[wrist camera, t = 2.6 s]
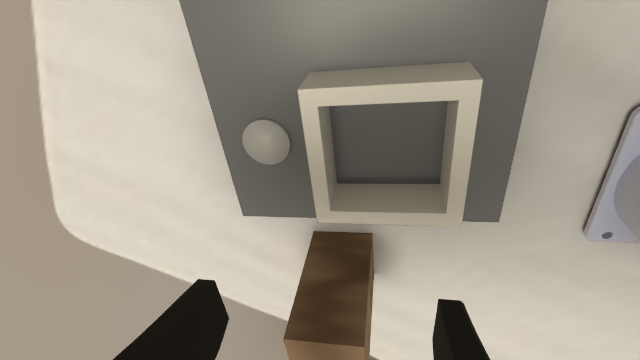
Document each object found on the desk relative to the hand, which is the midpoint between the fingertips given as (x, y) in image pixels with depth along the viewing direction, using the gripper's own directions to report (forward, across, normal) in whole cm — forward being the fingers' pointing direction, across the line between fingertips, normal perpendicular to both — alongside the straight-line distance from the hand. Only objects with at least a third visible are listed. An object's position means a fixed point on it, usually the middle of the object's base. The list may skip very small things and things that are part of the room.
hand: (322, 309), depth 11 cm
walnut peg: (+10, +1, +8) cm, 13 cm away
